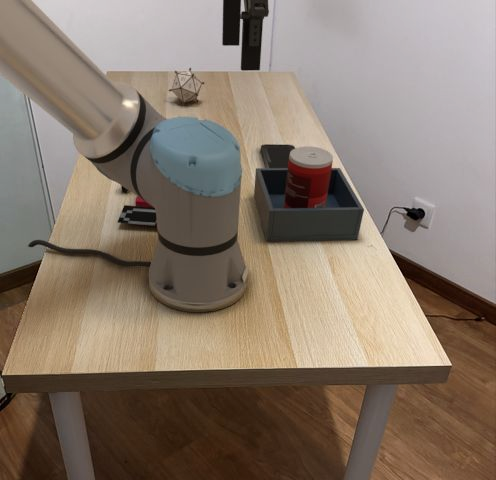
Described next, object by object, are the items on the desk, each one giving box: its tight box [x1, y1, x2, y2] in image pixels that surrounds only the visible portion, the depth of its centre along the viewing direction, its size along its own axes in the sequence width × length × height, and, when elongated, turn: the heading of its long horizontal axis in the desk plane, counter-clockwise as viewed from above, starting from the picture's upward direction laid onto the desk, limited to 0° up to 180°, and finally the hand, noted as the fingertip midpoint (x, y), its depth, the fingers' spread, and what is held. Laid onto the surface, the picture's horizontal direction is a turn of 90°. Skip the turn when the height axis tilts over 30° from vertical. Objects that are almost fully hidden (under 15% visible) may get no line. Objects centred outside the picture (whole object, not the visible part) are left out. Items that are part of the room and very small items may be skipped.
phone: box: [260, 143, 296, 168], centre depth 118 cm, size 8×1×15 cm
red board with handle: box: [116, 185, 157, 227], centre depth 105 cm, size 30×3×15 cm
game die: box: [168, 67, 206, 106], centre depth 142 cm, size 9×8×10 cm
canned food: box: [284, 146, 334, 208], centre depth 97 cm, size 8×8×11 cm
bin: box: [253, 167, 365, 243], centre depth 99 cm, size 17×17×6 cm
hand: (239, 57), depth 83 cm, fingers open, 13 cm apart
